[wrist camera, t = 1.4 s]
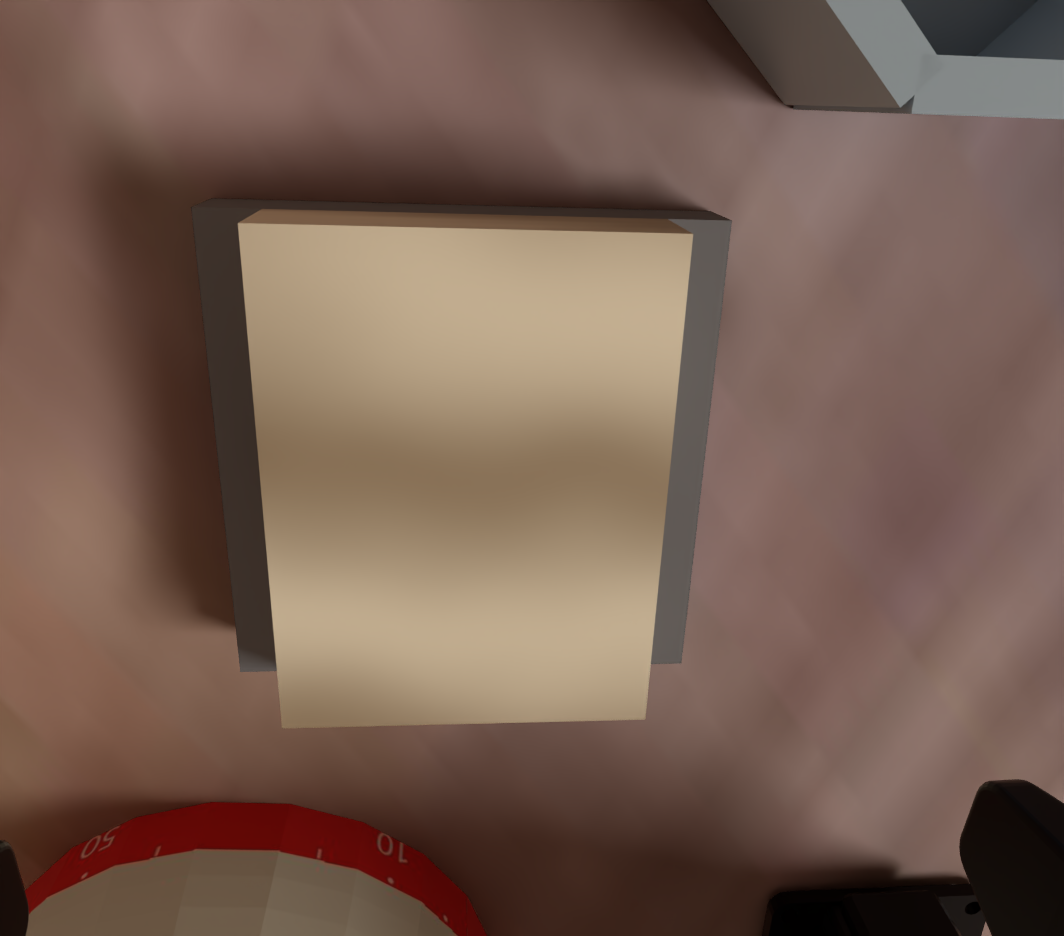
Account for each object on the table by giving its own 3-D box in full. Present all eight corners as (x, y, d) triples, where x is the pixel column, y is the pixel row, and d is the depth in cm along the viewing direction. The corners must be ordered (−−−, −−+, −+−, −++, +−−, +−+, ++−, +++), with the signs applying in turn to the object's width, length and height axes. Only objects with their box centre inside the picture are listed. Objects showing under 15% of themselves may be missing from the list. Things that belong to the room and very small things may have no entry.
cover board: (628, 664, 21) (644, 719, 19) (297, 670, 20) (281, 728, 18) (667, 219, 17) (693, 233, 15) (261, 208, 16) (237, 223, 15)
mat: (667, 628, 22) (681, 663, 21) (253, 634, 21) (239, 671, 20) (710, 211, 19) (731, 220, 17) (211, 198, 18) (190, 207, 16)
